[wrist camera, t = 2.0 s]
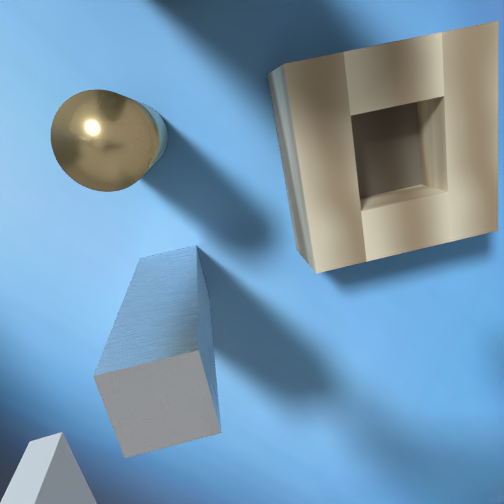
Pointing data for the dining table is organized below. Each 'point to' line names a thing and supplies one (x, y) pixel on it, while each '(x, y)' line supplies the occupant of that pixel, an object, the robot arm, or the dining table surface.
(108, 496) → the dining table surface
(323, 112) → the socket block
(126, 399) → the square bit
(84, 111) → the round bit
